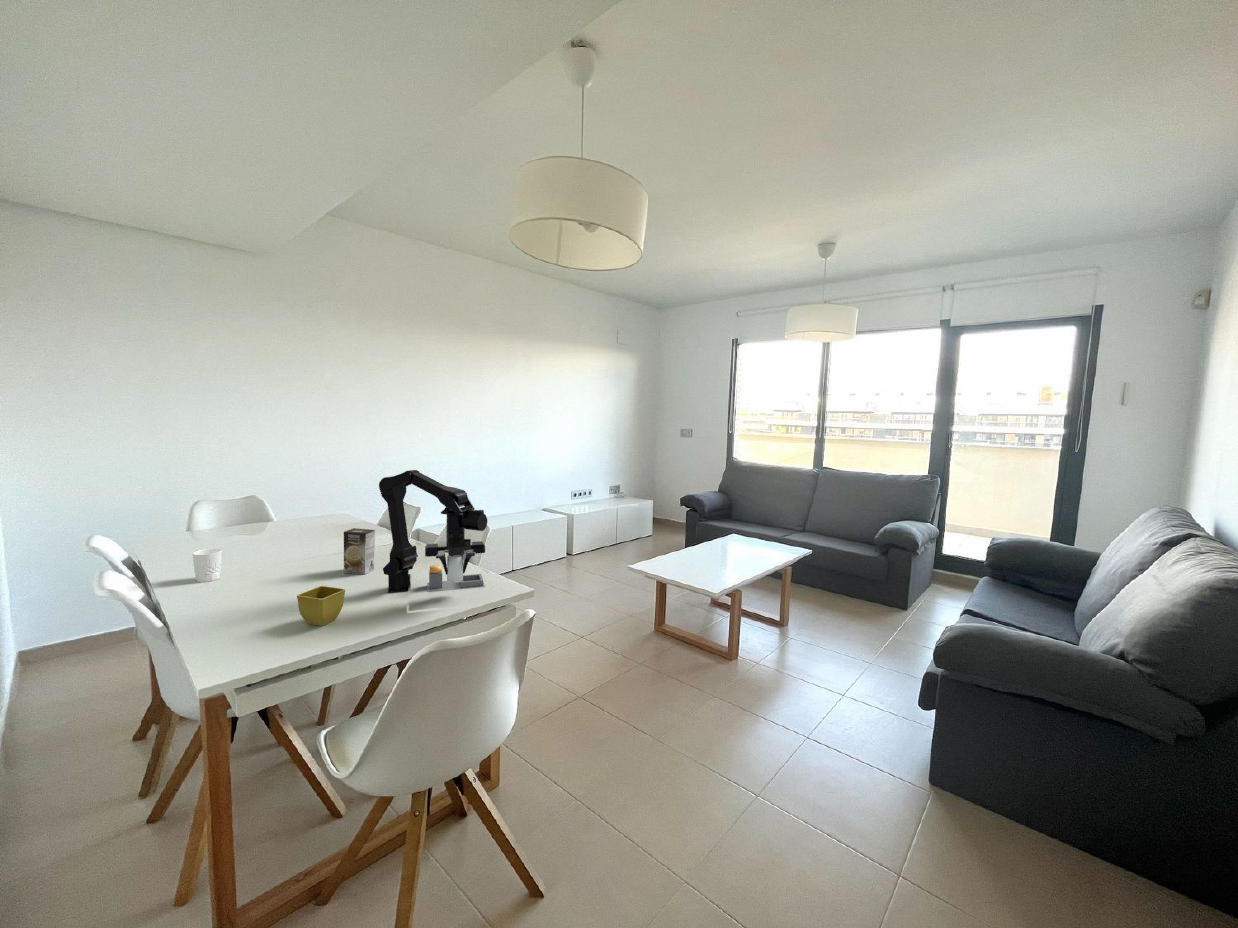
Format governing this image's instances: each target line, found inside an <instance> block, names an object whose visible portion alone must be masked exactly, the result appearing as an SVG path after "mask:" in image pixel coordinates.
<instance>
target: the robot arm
mask: <svg viewBox="0 0 1238 928" xmlns="http://www.w3.org/2000/svg"><path fill="white" fill-rule="evenodd" d="M411 485H413V486H415V487H416V488H419V489H421V490H422V491H424V492H426V493H428V494H430V495H432V496H434V497H435V498H436V499H438V501H439V502H440V504H442V505H443V506H444V509H443V510H442V511H440V514H441V515H446V533H445V534H446V541H445V542H446V543H445V544H446V545H444V546H443V545H442V546H439V544H438V543H428V544H426V545H425V547H424V550H425V551H424V557H427V558H428V557H435V559H439V561H440V562H441V564H442V568H443V571H444V572H445V575H446V576H447V558H446V553H448V555H450V556H454V555H463V575H465V572H466V570H467V567H468V565H469V564H468V563H469V562H470V560H471V559H472V557H475V555H476V554H485V553H486V545H485V543H484V541H482V540H481V541H480V540H479V541H472V540H471V538H467V539H466V538H465V537H466V536H465V535H466V534H465V533H466V532H465V530H466V531H467V530H469V531H476V532H477V531H478V532H483V531H485V529H486V528H487V526H488V518H487V517H488V516H487V515H486V514H485V510H484V509H475V506H474V505H473V503H472V501H471V500H470V499H469V496H468V493H467V492H466V491H465V490H464V489H461V488H458V487H455V486H454V487H452V486H448V485H445V484H443V483H441V482H439V481H438V480H435V479H433V478H432V477H429V476H427V475H426V474H425V473H424V474H423V473H422V472H420V471H419V470H417V469H411V470H406V471H404V472H402V473H398V474H396V475H392V476H385V477H382V478H381V479H380V481H378V489H379V491H380V495H381V497H382V499H384V502H386V504H387V512H388V519H389V524H390V525H389V526H390V531H391V538H392V539H391V540H392V546H391V549H390V552H389V561H388V562H387V564H386V565H385V566H384V567H383V568H382V572H383V575H386V576H388V577H387V579H388V587H387V593H390V594H391V593H400V592H408V591H409V589H410V588H411V573H410V570H413V568H414V565H415V564H416V562H417V559H418V557H419V556H418V552H417V546H416V545H412V544H411V543H410V541H409V534H408V528H407V520H406V513H405V507H404V499H405V497H406V495H407V494H406V493H407V487H408V486H411Z"/></svg>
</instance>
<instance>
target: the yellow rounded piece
mask: <svg viewBox="0 0 1238 928" xmlns="http://www.w3.org/2000/svg"><path fill="white" fill-rule="evenodd" d="M429 571H430V573H440V572H442V573H443V565H441V564H434V565H429Z"/></svg>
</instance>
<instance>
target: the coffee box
mask: <svg viewBox="0 0 1238 928" xmlns="http://www.w3.org/2000/svg"><path fill="white" fill-rule="evenodd" d="M375 532H376V531H375V529H368V528H358V527H357V528H356V527H353V528H351V529H348V530H344V531H343V573H345V574H355V575H357V574H358V575H366V574H368V573H371V572H372V571H375V569H376V568H375V564H376V563H375V556H376V555H375V550H376V548H375V547H376V545H375V540H376V539H375V538H376V536H375V535H376V534H375Z"/></svg>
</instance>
